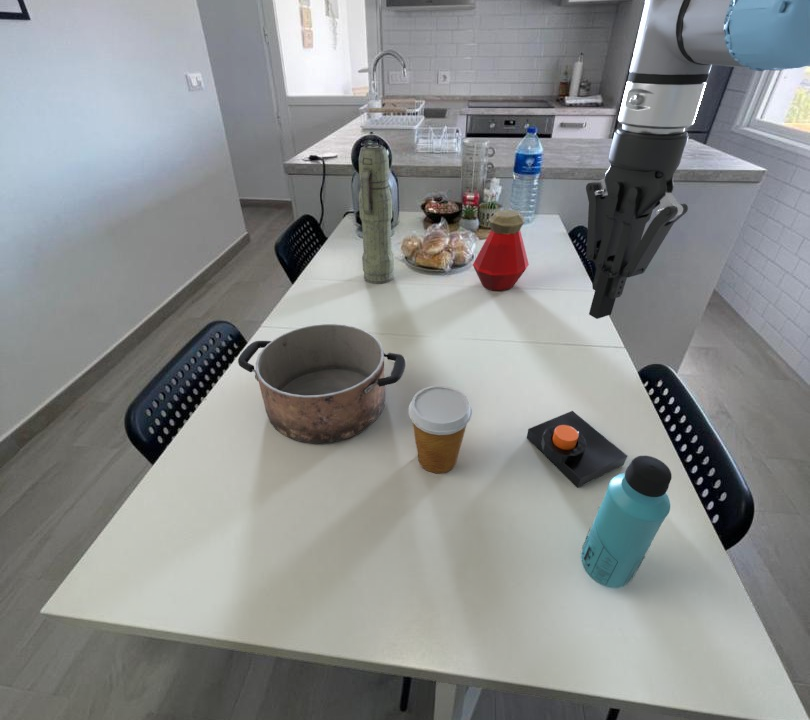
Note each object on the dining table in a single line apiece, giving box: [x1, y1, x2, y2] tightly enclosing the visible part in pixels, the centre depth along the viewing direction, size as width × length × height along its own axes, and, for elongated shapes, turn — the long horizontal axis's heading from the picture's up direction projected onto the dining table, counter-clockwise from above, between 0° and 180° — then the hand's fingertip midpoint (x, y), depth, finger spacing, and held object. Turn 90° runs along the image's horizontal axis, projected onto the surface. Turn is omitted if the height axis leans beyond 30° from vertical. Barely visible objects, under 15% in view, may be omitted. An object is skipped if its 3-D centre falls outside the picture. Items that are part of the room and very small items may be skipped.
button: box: [552, 425, 578, 450], centre depth 71 cm, size 4×4×2 cm
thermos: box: [358, 143, 395, 285], centre depth 120 cm, size 9×12×35 cm
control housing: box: [526, 410, 628, 489], centre depth 73 cm, size 12×11×4 cm
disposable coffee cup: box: [407, 385, 473, 474], centre depth 70 cm, size 10×10×12 cm
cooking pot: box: [237, 323, 406, 444], centre depth 82 cm, size 30×22×11 cm
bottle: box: [472, 209, 529, 292], centre depth 120 cm, size 16×14×20 cm
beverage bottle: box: [580, 455, 673, 589], centre depth 52 cm, size 6×7×20 cm
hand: (599, 314), depth 63 cm, fingers closed
